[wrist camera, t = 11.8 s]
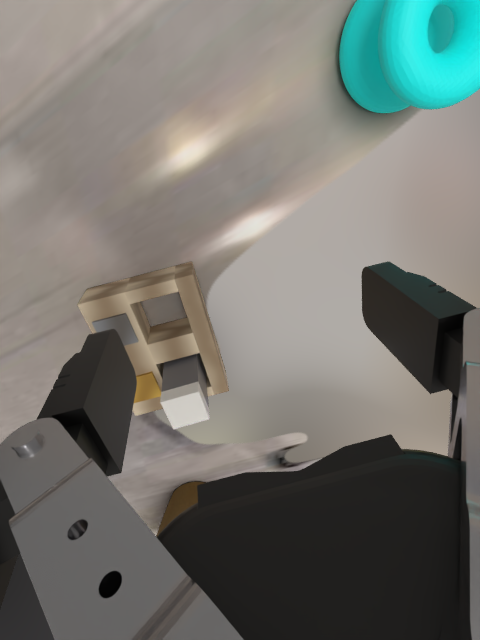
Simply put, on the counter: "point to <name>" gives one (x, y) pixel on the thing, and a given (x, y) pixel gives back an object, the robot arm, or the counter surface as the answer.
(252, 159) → the counter surface
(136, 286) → the socket block
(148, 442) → the counter surface
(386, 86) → the donuts
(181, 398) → the plug
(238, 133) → the counter surface
